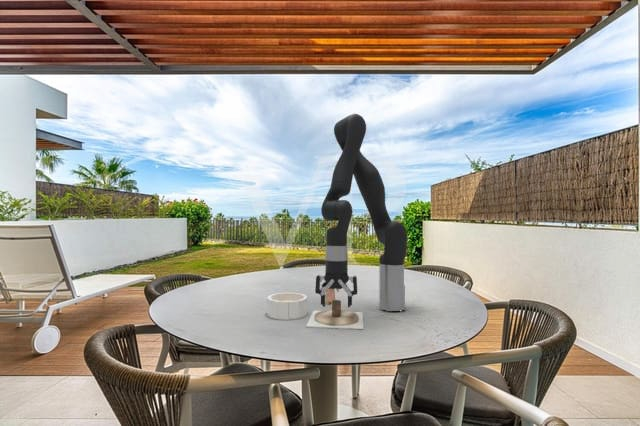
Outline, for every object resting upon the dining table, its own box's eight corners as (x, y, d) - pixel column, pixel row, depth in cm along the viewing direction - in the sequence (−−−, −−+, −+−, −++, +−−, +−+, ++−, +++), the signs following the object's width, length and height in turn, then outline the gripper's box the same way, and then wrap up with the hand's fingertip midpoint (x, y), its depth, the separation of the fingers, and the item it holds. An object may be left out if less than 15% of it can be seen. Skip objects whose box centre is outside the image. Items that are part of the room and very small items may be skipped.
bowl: (309, 309, 130) (309, 293, 130) (303, 320, 116) (303, 302, 116) (273, 307, 131) (273, 292, 131) (263, 318, 117) (263, 301, 117)
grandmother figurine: (339, 302, 139) (339, 271, 139) (339, 305, 135) (339, 273, 136) (320, 302, 140) (320, 271, 140) (319, 304, 136) (319, 272, 136)
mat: (362, 313, 124) (362, 312, 124) (363, 329, 106) (363, 328, 106) (313, 311, 126) (313, 310, 126) (306, 327, 108) (306, 326, 108)
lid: (358, 313, 123) (358, 296, 123) (358, 326, 108) (358, 307, 108) (317, 311, 125) (317, 295, 125) (311, 324, 110) (311, 306, 110)
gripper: (357, 257, 119) (357, 304, 119) (317, 257, 121) (316, 302, 121) (357, 260, 112) (357, 310, 112) (314, 259, 114) (314, 308, 114)
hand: (336, 306), depth 116 cm, fingers open, 8 cm apart
